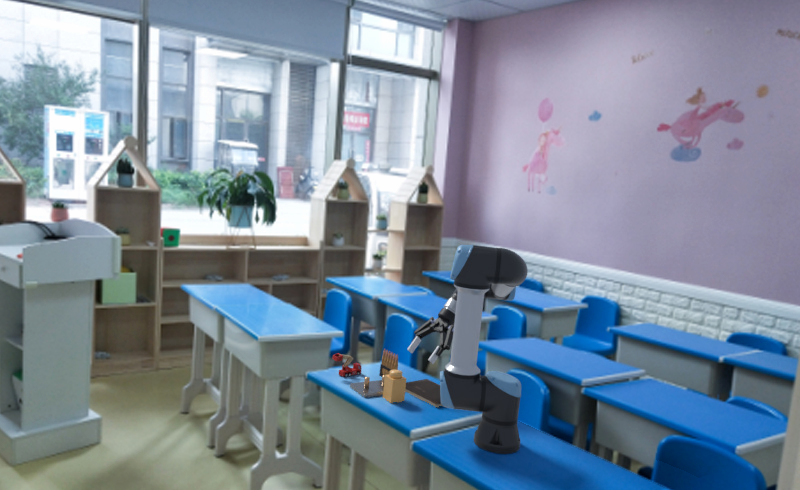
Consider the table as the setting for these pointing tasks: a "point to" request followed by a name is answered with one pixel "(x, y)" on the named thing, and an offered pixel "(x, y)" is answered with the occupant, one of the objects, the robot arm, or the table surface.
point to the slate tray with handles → (369, 387)
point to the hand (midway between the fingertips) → (419, 356)
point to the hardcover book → (425, 391)
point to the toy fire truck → (345, 368)
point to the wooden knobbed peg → (394, 386)
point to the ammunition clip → (388, 363)
